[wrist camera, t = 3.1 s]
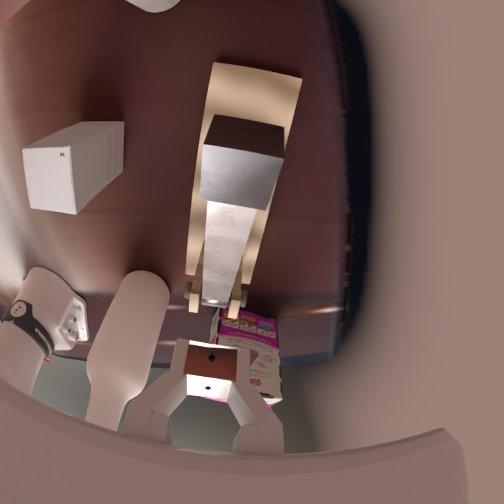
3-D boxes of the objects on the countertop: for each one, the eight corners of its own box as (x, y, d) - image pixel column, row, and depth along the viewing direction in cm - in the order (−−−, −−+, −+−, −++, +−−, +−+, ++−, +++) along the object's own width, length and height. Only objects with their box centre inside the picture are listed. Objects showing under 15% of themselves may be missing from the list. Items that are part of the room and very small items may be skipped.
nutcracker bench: (249, 278, 43) (249, 338, 34) (187, 267, 42) (171, 326, 33) (300, 79, 27) (326, 77, 17) (215, 63, 26) (194, 51, 16)
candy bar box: (211, 318, 49) (201, 398, 36) (220, 301, 47) (210, 386, 33) (266, 334, 52) (269, 410, 38) (278, 319, 49) (284, 399, 36)
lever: (233, 275, 35) (228, 313, 33) (204, 270, 35) (197, 308, 32) (284, 107, 15) (284, 158, 12) (221, 95, 14) (202, 144, 12)
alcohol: (155, 262, 42) (91, 448, 17) (179, 300, 47) (143, 470, 22) (115, 273, 43) (46, 433, 19) (140, 308, 48) (95, 458, 23)
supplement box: (80, 120, 28) (20, 146, 18) (126, 120, 29) (71, 144, 19) (81, 169, 32) (28, 209, 22) (124, 173, 33) (76, 216, 23)
